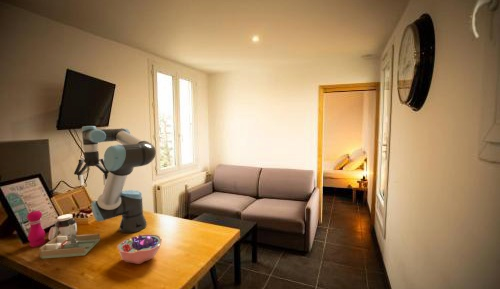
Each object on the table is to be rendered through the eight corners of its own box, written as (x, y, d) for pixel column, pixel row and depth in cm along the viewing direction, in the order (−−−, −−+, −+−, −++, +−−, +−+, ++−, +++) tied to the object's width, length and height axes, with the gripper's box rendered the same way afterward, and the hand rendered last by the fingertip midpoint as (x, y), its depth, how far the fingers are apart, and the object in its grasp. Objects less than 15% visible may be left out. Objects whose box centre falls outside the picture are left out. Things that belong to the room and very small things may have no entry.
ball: (59, 240, 122) (55, 245, 122) (54, 243, 119) (50, 249, 119) (65, 243, 123) (61, 249, 123) (61, 247, 119) (56, 253, 119)
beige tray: (100, 240, 131) (99, 231, 130) (84, 255, 116) (83, 245, 115) (61, 242, 128) (60, 233, 128) (40, 258, 113) (39, 248, 113)
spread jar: (79, 233, 139) (78, 214, 138) (60, 243, 128) (57, 222, 127) (64, 231, 142) (62, 212, 141) (43, 240, 131) (41, 220, 130)
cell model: (129, 249, 121) (128, 228, 119) (168, 249, 120) (167, 228, 119) (109, 270, 104) (107, 246, 103) (153, 271, 103) (152, 246, 102)
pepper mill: (35, 248, 123) (31, 211, 121) (24, 246, 124) (20, 210, 122) (49, 241, 130) (46, 206, 128) (39, 240, 131) (35, 205, 129)
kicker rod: (80, 243, 124) (78, 217, 123) (75, 247, 120) (73, 220, 119) (66, 244, 123) (63, 218, 122) (61, 248, 119) (58, 221, 118)
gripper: (115, 149, 149) (117, 182, 151) (72, 150, 146) (75, 184, 148) (109, 151, 141) (112, 185, 144) (65, 152, 138) (68, 187, 140)
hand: (93, 184), depth 146 cm, fingers open, 13 cm apart
